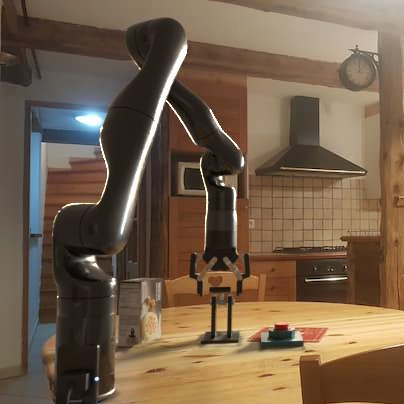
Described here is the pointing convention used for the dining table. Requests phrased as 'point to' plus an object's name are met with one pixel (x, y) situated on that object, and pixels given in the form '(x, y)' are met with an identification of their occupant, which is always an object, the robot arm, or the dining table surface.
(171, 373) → the dining table surface
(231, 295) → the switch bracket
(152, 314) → the coffee box
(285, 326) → the stop button
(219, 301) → the lever
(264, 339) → the button housing
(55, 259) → the robot arm
